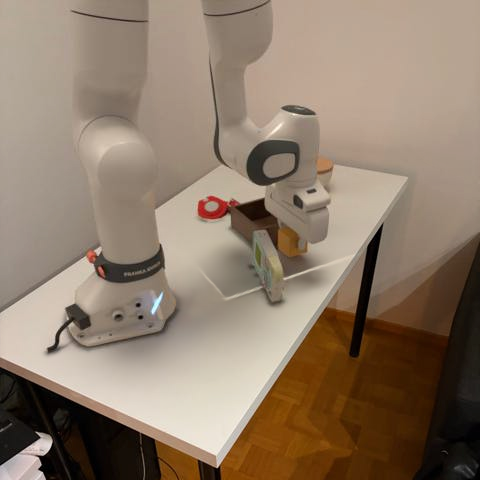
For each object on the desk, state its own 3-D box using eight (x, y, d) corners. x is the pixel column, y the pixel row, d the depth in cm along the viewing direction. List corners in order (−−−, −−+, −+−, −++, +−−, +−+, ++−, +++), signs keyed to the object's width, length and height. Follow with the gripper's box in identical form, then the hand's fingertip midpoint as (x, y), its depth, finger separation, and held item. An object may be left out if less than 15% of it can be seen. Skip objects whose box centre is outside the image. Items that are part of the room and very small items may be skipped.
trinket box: (294, 181, 150) (296, 151, 144) (329, 181, 149) (332, 151, 143) (296, 196, 141) (297, 165, 136) (332, 196, 141) (336, 165, 135)
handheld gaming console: (269, 310, 104) (250, 266, 113) (282, 308, 104) (262, 264, 114) (273, 271, 95) (252, 227, 105) (286, 269, 96) (264, 225, 106)
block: (289, 258, 111) (290, 238, 107) (277, 248, 114) (278, 229, 111) (307, 251, 112) (308, 233, 109) (295, 242, 116) (296, 223, 113)
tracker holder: (204, 221, 128) (189, 199, 133) (207, 232, 132) (192, 210, 137) (244, 202, 130) (228, 181, 135) (246, 214, 134) (230, 193, 139)
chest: (259, 253, 118) (259, 230, 114) (230, 228, 128) (230, 206, 124) (311, 236, 123) (313, 214, 119) (280, 213, 133) (281, 192, 129)
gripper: (257, 172, 109) (258, 227, 118) (310, 208, 95) (306, 266, 104) (281, 166, 111) (279, 220, 120) (336, 200, 97) (329, 258, 106)
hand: (292, 242), depth 112 cm, fingers closed on block, 5 cm apart
